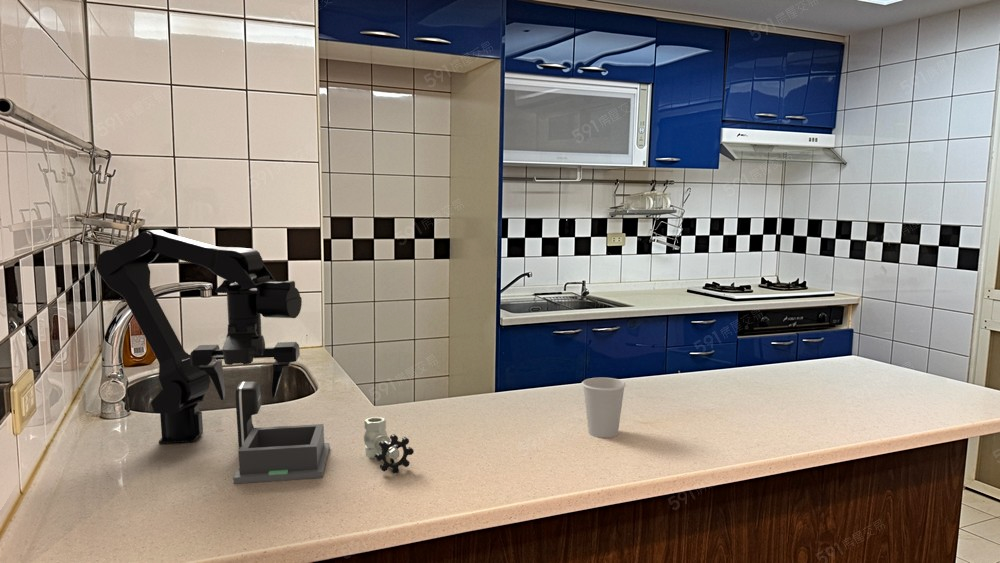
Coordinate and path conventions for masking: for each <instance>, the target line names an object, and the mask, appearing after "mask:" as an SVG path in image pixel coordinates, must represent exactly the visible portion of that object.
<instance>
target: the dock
mask: <svg viewBox="0 0 1000 563" xmlns="http://www.w3.org/2000/svg"><path fill="white" fill-rule="evenodd" d="M324 426H325V425H324V423H316V424H299V425H298V424H297V425H281V426H264V427H254V428H252V430H251V432H250V433H249V435H248V437H247V438H246V440H245V441H244V443H243V445H242V446H241V447H239V450H238V468H237V471H236V472H235V474H234V476H233V477H232V479H233V484H245V483H246V484H248V483H261V482H262V483H264V482H278V481H291V480H304V479H306V480H310V479H321V478H322V479H323V476H324V472H325V468H326V464H327V460H328V456H329V452H330V442H325V430H324V428H325V427H324Z"/></svg>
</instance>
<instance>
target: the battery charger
mask: <svg viewBox="0 0 1000 563" xmlns="http://www.w3.org/2000/svg"><path fill="white" fill-rule="evenodd" d="M261 393H262V392H261V387H260V384H259V382H256V381H241V382H239V383H238V385H237V387H236V389H235V409H236V412H235V413H236V425H237V426H236V428H237V441H238V442H237V443H238V448H241V446H242V445H243V443H244V441H245V440H246V438H247V437H248V435H249V433H250V432H251V430H252V428H255V427H254V424H253V417H252V416H254V415H257V414H258V413H259V411H260V410H261V407H262V394H261Z"/></svg>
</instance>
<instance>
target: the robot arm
mask: <svg viewBox="0 0 1000 563" xmlns="http://www.w3.org/2000/svg"><path fill="white" fill-rule="evenodd" d="M159 255H162V256H166V257H169V258H172V259H175V260H180V261H183V262H187V263H190V264H193V265H197V266H201V267H203V268H206V269H207V270H209V271H211V273H212V274H214V275H216V276H217V277H220V278H221V279H223V281H222V283H221V284H220V285H219V286H218V287H217V288H216V289H215V291H214V292H215V293H216V294H226V301H227V302H226V304H227V320H228V321H227V322H228V323H227V333H226V337H225V340H224V342H223V344H222V348H221V349H220V346H219V344H201V345H198V346H196V348H194V349H193V350H191V352H190V354H189V353H188V352H186V350H185V349H184V347H183V345H182V344H181V342H180V340H179V338H178V336H177V334H176V332H175V330H174V328H173V326H172V324H171V323H170V321H169V320H168V317H167V316H166V314H165V311H164V310H163V309H162V306H161V305H160V303H159V301H158V299H157V298H156V295H155V293H154V292H153V290H152V288H151V269H150V267H149V264H151V263H152V262H154V261H155V260H156V259H157V258H158V256H159ZM96 261H97V262H96V263H95V267H96V268H95V269H96V270H97V273H98V274H99V276H100V277H101V278H102V280H103V281H104V282H105V283H106V285H107V286H108V288H110V289H111V290H113V291H114V292H116V293H117V294H118V295H120V296H121V297H122V298H123V299H124V300H125V303H126V304H127V307H128V308H129V310H130V312H131V314H132V315H133V317H134V320H135V321H136V323H137V325H138V326H139V329H140V330H141V332H142V334H143V336H144V338H145V339H146V341H147V343H148V345H149V346H150V348H151V350H152V353H153V354H154V356H155V359H156V360H157V362H158V364H159V365H158V366H159V367H158V380H159V381H158V382H159V385H160V387H161V390H160V391H159V393H158V394H156V396H155V397H154V398H153V399H152V400H151V401H150V405H151V407H152V409H153V412H154V413H157V414H159V416H160V419H159V420H160V430H161V438H160V439H159V440H158V444H161V445H162V444H174V443H175V444H177V443H179V444H180V443H190V442H191V443H192V442H195V441H197V439H198V438H199V437H200V435H201V434H202V433H203V431H204V424H203V411H201V410H199V403H201V402H203V401H204V398H205V395H206V393H207V392H208V390H209V388H210V384H211V382H212V383H213V385H214V387H215V389H216V391H217V394H218V396H219V398H220V401H224V400H225V398H226V394H225V393H226V389H225V378H224V368H223V362H224V364H225V365H227V366H233V365H234V364H235V365H236V364H237V365H238V364H241V365H242V364H243V365H250V364H252V363H253V362H254V359H263V358H264V359H265V358H266V359H267V358H269V359H270V358H273V360H274V362H273V364H272V379H271V380H272V382H271V397H272V398H273V399H274V398H275V397H276V395H277V391H278V389H279V385H280V381H281V378H282V375H283V373H284V371H285V368H287V367H289V366H291V364H292V363H295V362H297V361H298V359H299V357H300V355H301V353H300V344H299V343H298V342H297V341H286V342H284V341H283V342H282V341H281V342H277V343H276V344H275V346H274V347H266V342H265V338H264V335H263V334H262V317H263V318H271V319H272V318H274V319H275V318H276V319H296V318H297V317H298V316H299V314H300V313H301V309H302V305H303V304H302V302H303V301H302V297H301V294H300V291H299V289H298V288H297V287H296V281H295V280H286V281H277V280H276V278H275V277H274V276H273V274H272V273H271V271H270V270H269V269H268V267H267V265H265V263H264V260H263V257H262V256H261V254H260V252H259V251H258V250H256V249H255V248H246V247H234V246H229V247H228V246H216V245H213V244H210V243H205V242H202V241H198V240H194V239H190V238H187V237H183V236H180V235H178V234H177V235H176V234H172V233H169V232H166V231H164V230H163V229H148V230H143V231H142V232H140V233H138V234H137V235H136V236H135V237H133V238H130V239H129V240H127V241H125V242H123V243H121V244H119V245H117V246H115V247H114V248H112V249H106V250H104V251H102V252H101V253H100V254H99V255H98V257H97V260H96ZM223 360H224V361H223ZM211 380H212V381H211Z"/></svg>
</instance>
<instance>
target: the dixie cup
mask: <svg viewBox="0 0 1000 563" xmlns="http://www.w3.org/2000/svg"><path fill="white" fill-rule="evenodd" d="M581 386H582V388H583V397H584V404H585V414H586V420H587V428H588V429H587V430H588V434H589V435H590V436H592V437H595V438H601V439H610V438H615V437H616V436H618V434H619V428H620V423H621V413H622V407H623V400H624V399H623V398H624V393H625V387H626V386H627V384H626V383H625V382H624V381H623V380H621V379H619V378H614V377H592V378H586V379H584V380H583V381H581Z"/></svg>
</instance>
